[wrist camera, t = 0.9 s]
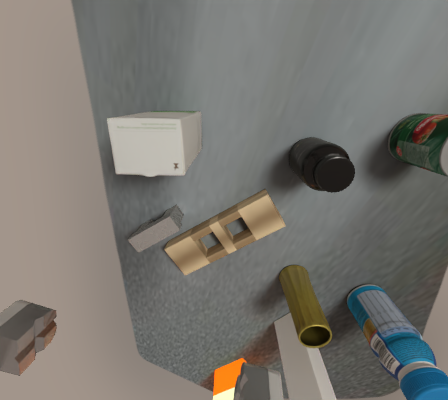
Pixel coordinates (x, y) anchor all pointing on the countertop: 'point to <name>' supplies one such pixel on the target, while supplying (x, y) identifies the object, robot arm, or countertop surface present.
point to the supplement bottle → (321, 165)
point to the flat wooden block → (225, 233)
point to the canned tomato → (421, 141)
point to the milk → (301, 365)
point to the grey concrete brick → (157, 229)
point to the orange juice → (226, 380)
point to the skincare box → (155, 142)
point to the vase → (304, 307)
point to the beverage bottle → (397, 344)
